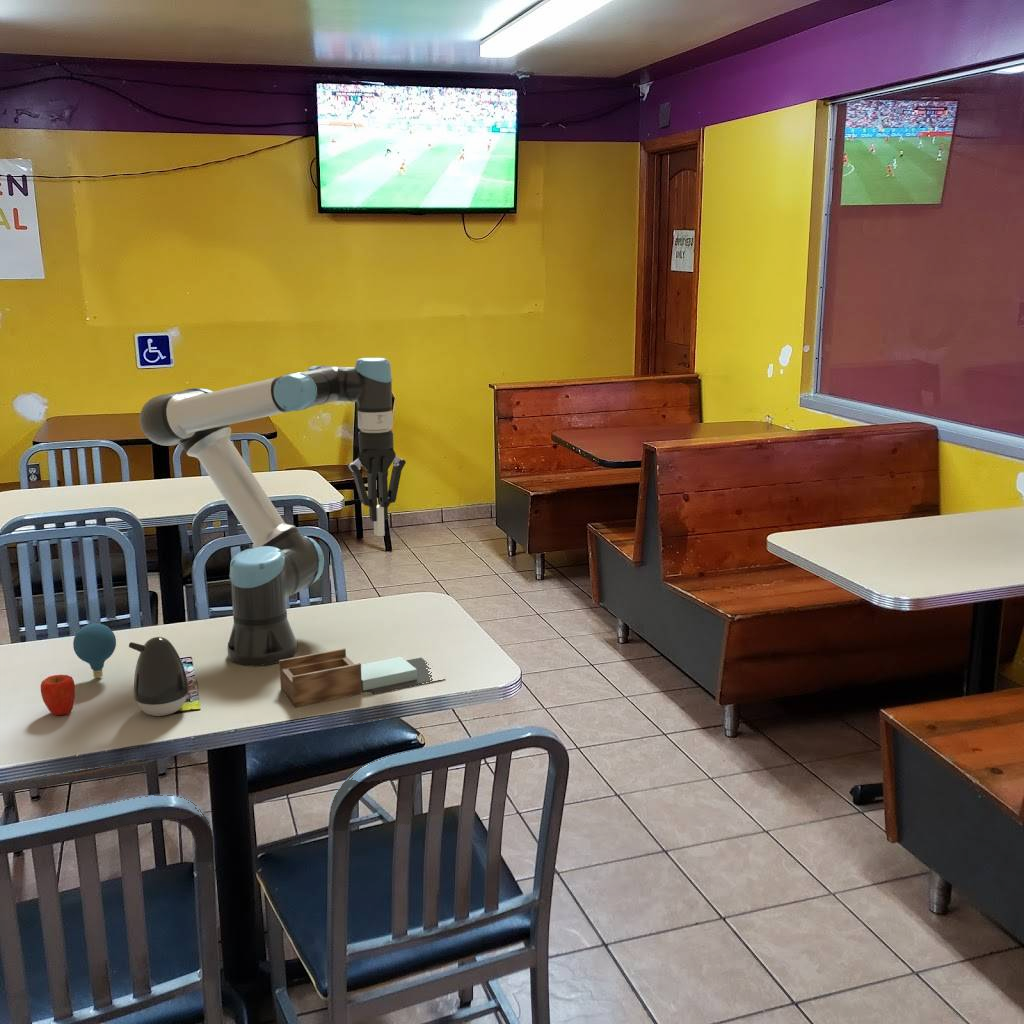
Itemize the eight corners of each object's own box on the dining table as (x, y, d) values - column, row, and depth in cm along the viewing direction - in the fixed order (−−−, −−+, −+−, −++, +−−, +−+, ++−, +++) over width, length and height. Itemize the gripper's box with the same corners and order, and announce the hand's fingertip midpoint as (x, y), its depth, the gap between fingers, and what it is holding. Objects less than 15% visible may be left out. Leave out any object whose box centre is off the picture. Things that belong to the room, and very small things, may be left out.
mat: (373, 694, 208) (373, 692, 208) (352, 672, 219) (352, 670, 219) (445, 679, 215) (445, 677, 215) (421, 659, 226) (421, 657, 226)
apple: (36, 715, 199) (32, 679, 197) (64, 703, 204) (60, 668, 202) (56, 722, 196) (52, 686, 194) (84, 710, 201) (80, 675, 199)
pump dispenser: (142, 700, 205) (135, 629, 202) (195, 698, 206) (189, 627, 203) (128, 723, 195) (120, 648, 192) (183, 720, 196) (177, 646, 193)
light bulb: (79, 688, 211) (73, 633, 208) (75, 674, 218) (69, 621, 216) (122, 681, 215) (116, 627, 212) (116, 667, 222) (111, 615, 219)
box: (294, 707, 202) (293, 677, 201) (280, 689, 211) (279, 660, 209) (362, 693, 208) (360, 664, 207) (345, 676, 217) (344, 648, 216)
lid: (363, 690, 209) (362, 680, 208) (348, 676, 216) (348, 667, 215) (417, 679, 215) (416, 669, 214) (401, 666, 222) (401, 656, 221)
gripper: (352, 434, 216) (357, 542, 222) (410, 430, 222) (412, 534, 228) (341, 429, 223) (345, 534, 228) (397, 425, 229) (400, 527, 234)
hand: (379, 534), depth 228 cm, fingers closed
